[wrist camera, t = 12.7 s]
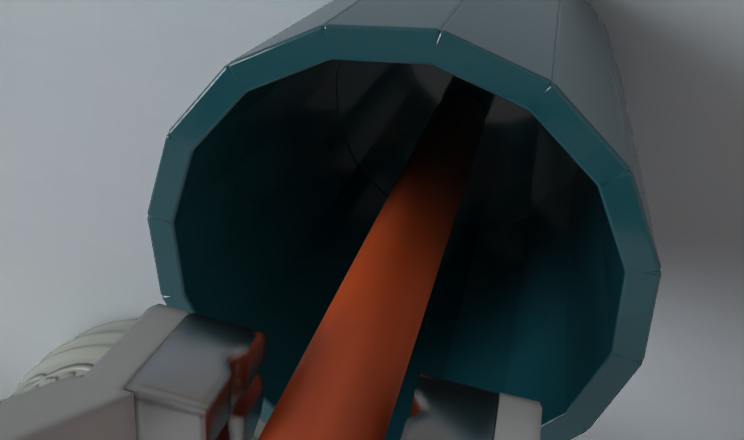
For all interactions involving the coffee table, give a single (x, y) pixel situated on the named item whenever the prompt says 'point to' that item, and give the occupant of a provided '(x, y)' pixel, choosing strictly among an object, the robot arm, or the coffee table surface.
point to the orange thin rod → (383, 293)
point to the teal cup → (379, 174)
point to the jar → (82, 359)
